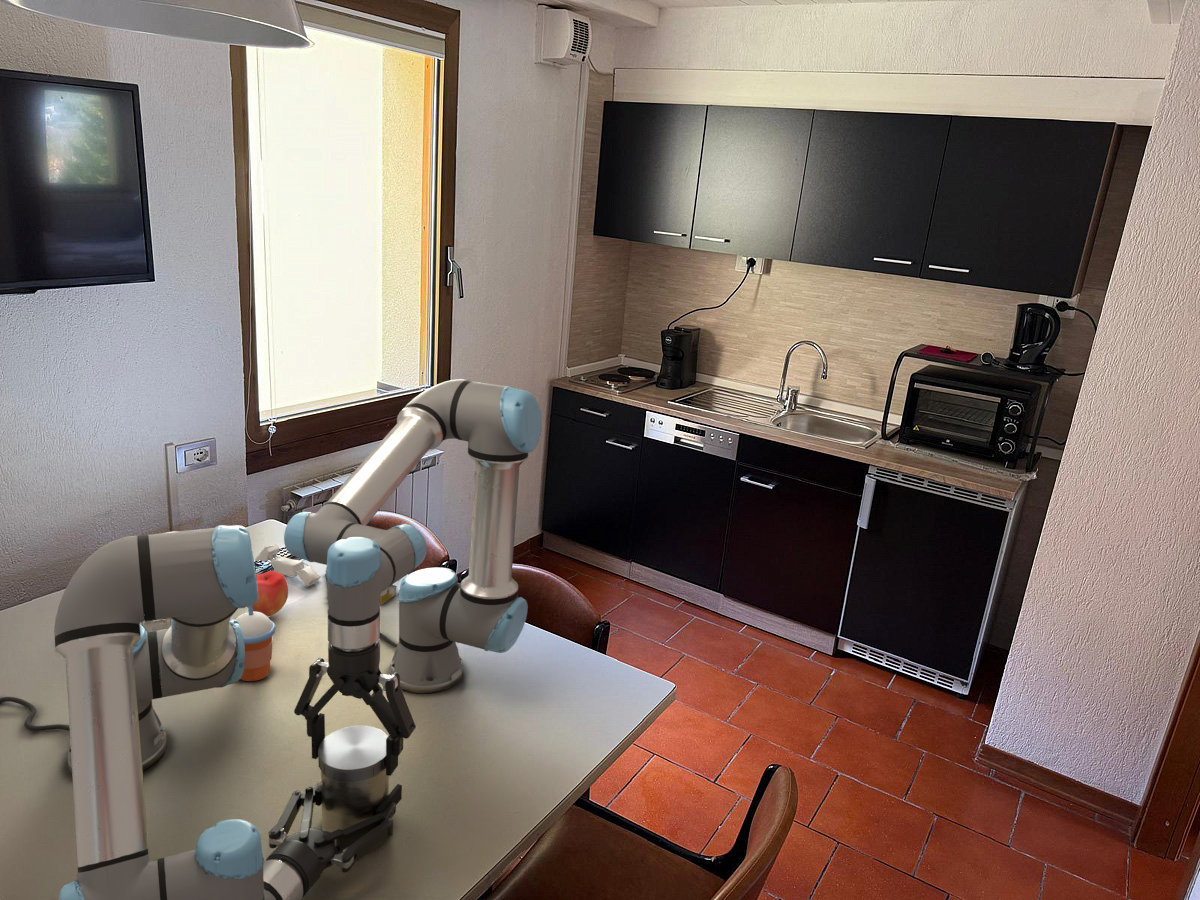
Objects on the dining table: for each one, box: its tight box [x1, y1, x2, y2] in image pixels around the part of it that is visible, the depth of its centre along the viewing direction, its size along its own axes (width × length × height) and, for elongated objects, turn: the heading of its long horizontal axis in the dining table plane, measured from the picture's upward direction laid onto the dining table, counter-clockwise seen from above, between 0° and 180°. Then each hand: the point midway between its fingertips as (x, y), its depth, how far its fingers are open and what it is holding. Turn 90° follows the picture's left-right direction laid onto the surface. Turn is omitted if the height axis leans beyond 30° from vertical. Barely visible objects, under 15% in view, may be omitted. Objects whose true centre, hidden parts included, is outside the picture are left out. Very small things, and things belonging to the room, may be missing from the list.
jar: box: [320, 768, 390, 849], centre depth 136 cm, size 10×10×15 cm
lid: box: [317, 725, 389, 782], centre depth 134 cm, size 11×11×2 cm
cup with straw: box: [234, 605, 276, 682], centre depth 175 cm, size 9×9×18 cm
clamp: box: [254, 544, 322, 587], centre depth 219 cm, size 20×4×7 cm, turn 62°
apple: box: [246, 570, 289, 618], centre depth 199 cm, size 10×10×10 cm
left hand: (369, 782), depth 140 cm, fingers closed on jar, 10 cm apart
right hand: (355, 762), depth 134 cm, fingers open, 12 cm apart
